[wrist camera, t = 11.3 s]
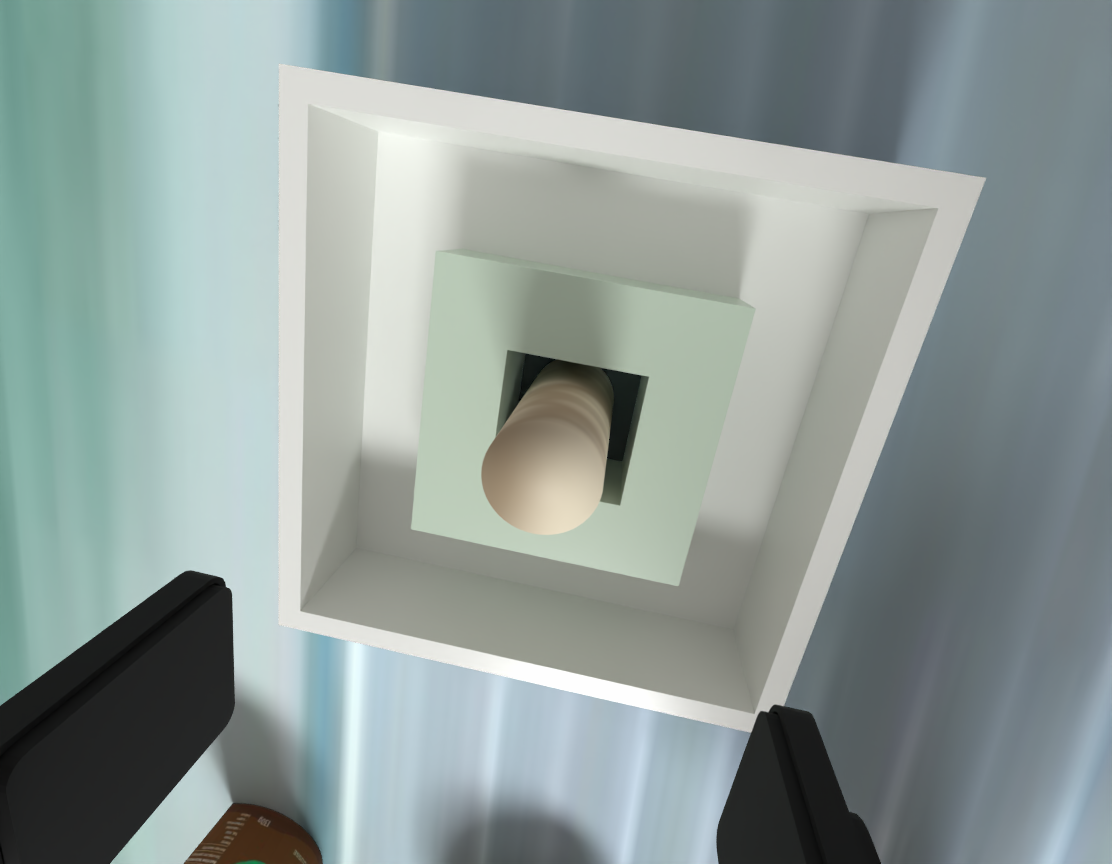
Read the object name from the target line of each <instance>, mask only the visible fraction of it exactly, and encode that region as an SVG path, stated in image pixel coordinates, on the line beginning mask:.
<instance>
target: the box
mask: <svg viewBox="0 0 1112 864" xmlns="http://www.w3.org/2000/svg"><path fill="white" fill-rule="evenodd" d="M985 180H986V178H983V177H977V176H971V175H965V174H959V173H952V172H946V171H940V170H934V169H928V168H921V167H915V166H909V165H903V164H897V163H890V162H884V161H878V160H872V159H866V158H859V157H853V156H847V155H841V154H835V153H829V152H822V151H816V150H810V149H804V148H798V147H791V146H785V145H779V144H773V143H767V142H760V141H754V140H748V139H742V138H736V137H730V136H723V135H717V134H711V133H705V132H699V131H692V130H686V129H680V128H674V127H668V126H661V125H655V124H649V123H643V122H637V121H631V120H624V119H618V118H612V117H606V116H600V115H593V114H587V113H581V112H575V111H569V110H562V109H556V108H550V107H544V106H538V105H532V104H525V103H519V102H513V101H507V100H501V99H494V98H488V97H482V96H476V95H470V94H463V93H457V92H451V91H445V90H439V89H433V88H426V87H420V86H414V85H408V84H402V83H395V82H389V81H383V80H377V79H371V78H364V77H358V76H352V75H346V74H340V73H334V72H327V71H321V70H315V69H309V68H303V67H296V66H290V65H284V64H279V625H281V626H286V627H290V628H295V629H299V630H303V631H308V632H312V633H316V634H321V635H325V636H330V637H334V638H338V639H343V640H347V641H351V642H356V643H360V644H365V645H369V646H373V647H378V648H382V649H386V650H391V651H395V652H400V653H404V654H408V655H413V656H417V657H421V658H426V659H430V660H435V661H439V662H443V663H448V664H452V665H457V666H461V667H465V668H470V669H474V670H478V671H483V672H487V673H492V674H496V675H500V676H505V677H509V678H513V679H518V680H522V681H527V682H531V683H535V684H540V685H544V686H548V687H553V688H557V689H562V690H566V691H570V692H575V693H579V694H583V695H588V696H592V697H597V698H601V699H605V700H610V701H614V702H618V703H623V704H627V705H632V706H636V707H640V708H645V709H649V710H654V711H658V712H662V713H667V714H671V715H675V716H680V717H684V718H689V719H693V720H697V721H702V722H706V723H710V724H715V725H719V726H724V727H728V728H732V729H737V730H741V731H745V732H750V733H751V732H752V729H753V726H754V724H755V721H756V718H757V716H758V714H759V712H760V711H765V712H769V710H770V708H771V707H772V706H773V705H781V706H784V704H785V702H786V699H787V696H788V694H789V691H790V688H791V686H792V683H793V681H794V678H795V675H796V673H797V670H798V668H799V665H800V662H801V660H802V657H803V655H804V652H805V649H806V647H807V644H808V642H809V639H810V636H811V634H812V631H813V628H814V626H815V623H816V621H817V618H818V615H819V613H820V610H821V608H822V605H823V602H824V600H825V597H826V595H827V592H828V589H829V587H830V584H831V582H832V579H833V576H834V574H835V571H836V568H837V566H838V563H839V561H840V558H841V555H842V553H843V550H844V548H845V545H846V542H847V540H848V537H849V535H850V532H851V529H852V527H853V524H854V522H855V519H856V516H857V514H858V511H859V509H860V506H861V503H862V501H863V498H864V495H865V493H866V490H867V488H868V485H869V482H870V480H871V477H872V475H873V472H874V469H875V467H876V464H877V462H878V459H879V456H880V454H881V451H882V449H883V446H884V443H885V441H886V438H887V435H888V433H889V430H890V428H891V425H892V422H893V420H894V417H895V415H896V412H897V409H898V407H899V404H900V402H901V399H902V396H903V394H904V391H905V389H906V386H907V383H908V381H909V378H910V375H911V373H912V370H913V368H914V365H915V362H916V360H917V357H918V355H919V352H920V349H921V347H922V344H923V342H924V339H925V336H926V334H927V331H928V329H929V326H930V323H931V321H932V318H933V315H934V313H935V310H936V308H937V305H938V302H939V300H940V297H941V295H942V292H943V289H944V287H945V284H946V282H947V279H948V276H949V274H950V271H951V269H952V266H953V263H954V261H955V258H956V255H957V253H958V250H959V248H960V245H961V242H962V240H963V237H964V235H965V232H966V229H967V227H968V224H969V222H970V219H971V216H972V214H973V211H974V209H975V206H976V203H977V201H978V198H979V196H980V193H981V190H982V188H983V185H984V182H985ZM526 353H527V354H532V355H537V356H542V357H548V358H553V359H558V360H563V361H569V362H574V363H579V364H584V365H590V366H595V367H600V368H605V369H611V370H616V371H621V372H626V373H632V374H637V375H641V380H640V384H639V389H638V393H637V398H636V402H635V407H634V411H633V416H632V420H631V425H630V430H629V434H628V439H627V443H626V448H625V452H624V457H623V461H617V460H612V459H607V461H606V469H605V477H604V485H603V492H602V496H601V499H600V502H599V504H598V506H597V508H596V509H595V511H594V512H593V513H592V515H591V516H590V517H589V518H588V519H587V520H586V521H585V522H584V523H582V524H581V525H579V526H578V527H576V528H574V529H572V530H570V531H567V532H564V533H559V534H553V535H539V534H532V533H529V532H525V531H523V530H520V529H518V528H516V527H514V526H512V525H510V524H509V523H507V522H506V521H505V520H503V519H502V518H501V517H500V516H499V515H498V514H497V513H496V512H495V510H494V509H493V508H492V506H491V505H490V503H489V502H488V500H487V498H486V495H485V493H484V490H483V486H482V479H481V470H482V463H483V459H484V457H485V454H486V452H487V450H488V448H489V446H490V445H491V443H492V442H493V440H494V439H495V438H496V436H497V435H498V433H499V432H500V430H501V429H502V427H503V426H504V424H505V423H506V421H507V420H508V418H509V417H510V415H511V414H512V412H513V411H514V409H515V408H516V407H517V405H518V401H519V394H520V388H521V381H522V374H523V367H524V361H525V354H526Z"/></svg>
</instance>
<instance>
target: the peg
mask: <svg viewBox="0 0 1112 864" xmlns="http://www.w3.org/2000/svg"><path fill="white" fill-rule="evenodd" d="M613 404H614V391H613V387H612V384H611V381H610V379H609V378H608V376H607V374H606V373H605V372H604V371H603V370H602V369H601V368H600V367H595V366H590V365H584V364H579V363H574V362H569V361H563V360H558V359H557V360H555V361H553V362H551V363H549V364H548V365H547V366H545V367H544V368H543V369H542V370H541V371H540V373H539V374H538V376H537V377H536V379H535V380H534V381H533V383H532V384H531V386H530V387H529V389H528V390H527V392H526V393H525V395H524V396H523V398H522V399H521V401H520V402H519V404H518V405H517V407H516V408H515V409H514V411H513V412H512V414H511V415H510V417H509V418H508V420H507V421H506V423H505V424H504V426H503V427H502V429H501V430H500V432H499V433H498V435H497V436H496V438H495V439H494V440H493V442H492V443H491V445H490V446H489V448H488V450H487V452H486V454H485V457H484V459H483V463H482V470H481V479H482V486H483V490H484V493H485V495H486V498H487V500H488V502H489V503H490V505H491V506H492V508H493V509H494V510H495V512H496V513H497V514H498V515H499V516H500V517H501V518H502V519H503V520H505V521H506V522H507V523H509V524H510V525H512V526H514V527H516V528H518V529H520V530H523V531H525V532H529V533H532V534H539V535H553V534H559V533H564V532H567V531H570V530H572V529H574V528H576V527H578V526H579V525H581V524H582V523H584V522H585V521H586V520H587V519H588V518H589V517H590V516H591V515H592V513H593V512H594V511H595V509H596V508H597V506H598V504H599V502H600V499H601V496H602V492H603V485H604V477H605V469H606V461H607V452H608V444H609V436H610V428H611V420H612V412H613Z"/></svg>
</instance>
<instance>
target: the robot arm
mask: <svg viewBox="0 0 1112 864" xmlns="http://www.w3.org/2000/svg"><path fill="white" fill-rule="evenodd" d="M234 705H235V694H234V654H233V613H232V592H231V590H230V589H229V588H226V585H225V582H224V580H223V578H220V577H217V576H213V575H208V574H204V573H200V572H195V571H185V572H184V573H182V574H180V575H179V576H177V577H176V578H175V579H173V580H172V581H170V582H169V583H168V584H166V585H165V586H164V587H162V588H161V589H160V590H158V591H157V592H155V593H154V594H153V595H151V596H150V597H149V598H147V599H146V600H145V601H143V602H142V603H140V604H139V605H138V606H136V607H135V608H134V609H132V610H131V611H129V612H128V613H127V614H125V615H124V616H123V617H121V618H120V619H119V620H117V621H116V622H114V623H113V624H112V625H110V626H109V627H108V628H106V629H105V630H103V631H102V632H101V633H99V634H98V635H97V636H95V637H94V638H93V639H91V640H90V641H88V642H87V643H86V644H84V645H83V646H82V647H80V648H79V649H77V650H76V651H75V652H73V653H72V654H71V655H69V656H68V657H67V658H65V659H64V660H62V661H61V662H60V663H58V664H57V665H56V666H54V667H53V668H51V669H50V670H49V671H47V672H46V673H45V674H43V675H42V676H41V677H39V678H38V679H36V680H35V681H34V682H32V683H31V684H30V685H28V686H27V687H25V688H24V689H23V690H21V691H20V692H19V693H17V694H16V695H15V696H13V697H12V698H10V699H9V700H8V701H6V702H5V703H4V704H2V705H1V706H0V864H110V863H111V862H112V860H113V859H114V858H115V857H116V856H117V855H118V853H119V852H120V851H121V850H122V849H123V847H124V846H125V845H126V844H127V843H128V842H129V840H130V839H131V838H132V837H133V836H134V834H135V833H136V832H137V831H138V830H139V829H140V827H141V826H142V825H143V824H144V823H145V821H146V820H147V819H148V818H149V817H150V816H151V814H152V813H153V812H154V811H155V810H156V808H157V807H158V806H159V805H160V804H161V803H162V801H163V800H164V799H165V798H166V797H167V795H168V794H169V793H170V792H171V791H172V790H173V788H174V787H175V786H176V785H177V784H178V782H179V781H180V780H181V779H182V778H183V777H184V775H185V774H186V773H187V772H188V771H189V769H190V768H191V767H192V766H193V765H194V764H195V762H196V761H197V760H198V759H199V758H200V756H201V755H202V754H203V753H204V752H205V751H206V749H207V748H208V747H209V746H210V745H211V743H212V742H213V741H214V740H215V739H216V738H217V736H218V735H219V734H220V733H221V732H222V730H223V729H224V728H225V727H226V725H227V724H228V722H229V720H230V719H231V716H232V714H233V710H234ZM717 854H718V862H719V864H881V862H880V860H879V857H878V854H877V852H876V849H875V847H874V844H873V842H872V839H871V837H870V834H869V832H868V830H867V828H866V826H865V824H864V822H863V820H862V819H861V818H860V817H859V816H858V815H857V814H855V813H851V812H849V811H848V808H847V805H846V803H845V800H844V797H843V795H842V792H841V789H840V787H839V784H838V781H837V779H836V776H835V773H834V770H833V768H832V765H831V762H830V760H829V757H828V754H827V752H826V749H825V746H824V744H823V741H822V738H821V735H820V733H819V730H818V727H817V725H816V722H815V719H814V718H813V716H812V714H811V713H809V712H807V711H802V710H798V709H794V708H789V707H785V706H781V705H773V706H772V707H771V708H770V710H769V712H765V711H760V712H759V714H758V716H757V718H756V721H755V724H754V726H753V729H752V732H751V735H750V738H749V740H748V743H747V746H746V749H745V751H744V754H743V757H742V760H741V763H740V765H739V768H738V771H737V774H736V776H735V779H734V782H733V785H732V788H731V790H730V793H729V796H728V799H727V801H726V804H725V807H724V810H723V813H722V815H721V818H720V821H719V824H718V829H717Z"/></svg>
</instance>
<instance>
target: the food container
mask: <svg viewBox="0 0 1112 864" xmlns="http://www.w3.org/2000/svg"><path fill="white" fill-rule="evenodd" d="M184 864H323V863H322V856H321V853H320V850H319V848H318V846H317V845H316V843H315V841H314V840H313V839H312V837H311V836H310V835H309V834H308V833H307V832H306V831H305V830H304V829H303V828H302V827H301V826H300V825H298V824H297V823H296V822H294V821H293V820H291V819H290V818H288V817H286V816H284V815H283V814H280V813H278V812H276V811H274V810H271V809H268V808H265V807H261V806H257V805H252V804H232V805H231V806H230V808H229V809H228V810H227V811H226V812H225V814H224V815H223V816H222V817H221V819H220V820H219V821H218V822H217V823H216V825H215V826H214V827H213V828H212V830H211V831H210V832H209V833H208V834H207V836H206V837H205V838H204V839H203V841H202V842H201V843H200V844H199V845H198V847H197V848H196V849H195V850H194V852H193V853H192V854H191V855H190V856H189V858H188V859H187V860H186V861H185V862H184Z"/></svg>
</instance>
